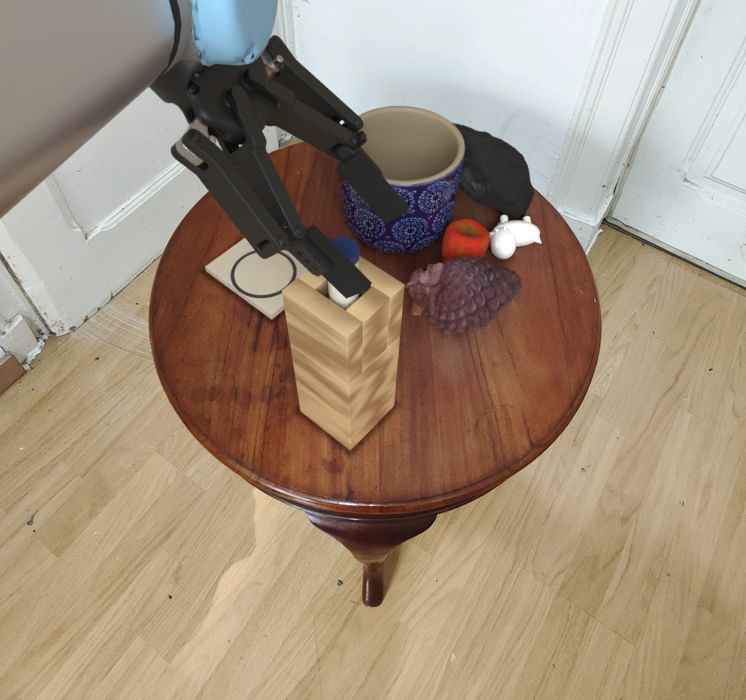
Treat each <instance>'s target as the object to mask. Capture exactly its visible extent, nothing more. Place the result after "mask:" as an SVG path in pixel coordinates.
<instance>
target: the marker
mask: <svg viewBox="0 0 746 700" xmlns="http://www.w3.org/2000/svg"><path fill="white" fill-rule="evenodd" d="M329 240H330V241H331V242H332V243H333V244H334V245H335V246H336V247H337V248H338V249H339V250H340V251H341V252H342V253H343V254H344V255H345V256H346V257H347V258H348V259H349V260H350V261H351V262H352V263H353V264H354V265H355V266H356V267H357V268H358V269H359V256H360V245H359V243H358V242H357V241H356V240H355V239H353V238H351V237H348V236H337V237H334V238H332V239H329ZM328 290H329V300H331V301H332V302H334V303H335V304H337V305H338V306H340V307H341V308H342V309H344V310H345V311H346V309H348V308H349V307H350V306H351V305H352V304H353V303H354V302H356V301H357V300H358V299H359V294H357V295H354V296H352V297H349V298H347V299H346V298H345V297H344V296H343V295H342V294H341V293H340V292H339V291H338V290H337V289H336V288H335V287H334V286H333V285H332V284H331V283H329V282H328Z"/></svg>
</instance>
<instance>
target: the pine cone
mask: <svg viewBox="0 0 746 700" xmlns="http://www.w3.org/2000/svg"><path fill="white" fill-rule="evenodd" d="M521 283H522V279H521V277H520V276H519V274H517V273H516V272H515V271H514V270H511V269H510V268H508V267H507V266H505V267H502V266H499V265H496V263H492V262H491V261H487V260H483V259H481V258H477V257H476V256H474V257H471V258H470V257H466V256H461V257H460V256H459V257H456V258H450V259H448V260H447V261H446V262H444V263H443V262H436V263H429V264H428V265H427V266H426V270H424V269H423V268H421V267H420V268H417V269H415V270H414V271H413V273H412V275H411V276H410V278H409V281H407V282H406V283H404V285H405V286H404V289H407V288H408V289H407V294H408V295H409V296H410V297H411V300H412V303H411V309H410V314H411V315H412V316H413V317H418V316H421V315H422V316H424V317H426V322H428V323H430V324H432V326H433V327H434V328H435V329H436V330H441V331H442V333H443V334H444V335H446V336H447V335H450V334H452V333H453V332H454V331H455V333H457V334H462V333H463V332H464V331H465V330H467V331H468V332H473V333H474V332H476V331H477V330H478V329H479V327H480V328H487V327H488V326H489V325H490V324H491V321H492V320H494V319H496V317H497V316H498V314H500V313H502V312H503V310H504V309H505V308H507V307H509V306H510V305H511V303H512V301H513V300H514V299H516V297H517V295H519V294H520V293H521V289H522V288H523V285H522V284H521Z"/></svg>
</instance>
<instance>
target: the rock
mask: <svg viewBox="0 0 746 700" xmlns="http://www.w3.org/2000/svg"><path fill="white" fill-rule="evenodd" d="M451 123H452V124H454V125H455V126H456V128H457V129H458V130H459V131H460V133H461V134H462V136H463V139H464V142H465V157H464V165H463V172H462V178H461V184H460V189H459V190H462V191H463V192H465V194H466V195H467V196H468V197H469V198H470V199H471V200H473V201H474V202H475V203H478V204H480V205H482V206H484V207H488V208H493V209H494V210H495V211H497V212H499V213H502V214H503V215H507V216H510V217H512V218H513V219H515V220H520V221H522V220H523V218H524V217H525V216H526V214H527V213H528V210H529V209H530V206H531V204H532V202H533V199H534V193H535V189H534V187H533V185H532V180H531V175H530V168H529V165H528V163H527V161H526V159H525V157H524V155H523V154H522V153H521V152H520V151H519V150H518V149H517V148H516V147H514V146H513V145H512V144H510V143H509V142H507V141H505V140H503V139H502V138H499V137H496V136H494V135H492V134H491V133H490V132H487V131H483V130H482V131H481V130H477V129H475V128H473V127H470V126H467V125H465V124H461V123H455V122H451Z"/></svg>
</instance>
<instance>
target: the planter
mask: <svg viewBox="0 0 746 700" xmlns="http://www.w3.org/2000/svg"><path fill="white" fill-rule="evenodd" d="M358 116H359V117H360V118H361V119H362V121H363V124H364V125H363V128H362V129H361V130H362V131H364V133H365V134H366V136H367V142H366V143H365V144H363V145H362V146H361V147H362V149H363V150H364V151H365V152H366V153H367V154H368V156H369V157H370V158H371V159H372V160H373V161H374V162H375V164H376V165H377V166H378V167H379V168H380V170H381V172H382V174H383V175H382V176H383V177H384V178H385V179H386V181H387V182H388V183H389V184H390V185H391V186H392V187H393V189H394V190H395V191H396V192H397V193H398V194H399V195H400V197H401V198H402V199H403V200H404V201H405V202H406V203H407V205H408V206H409V207H410V208H409V210H408V212H407V213H405V214H403V215H401V216H399V217H397V218H395V219H393V220H391V221H389V222H387V223H384V222H383V221H382V220H381V218H380V217H379V216H378V215H377V214H376V213H375V212H374V211H373V210H372V209H371V207H370V206H369V205H368V204H367V203H366V202H365V201H364V200H363V199H362V198H361V197H360V195H359V194H358V193H357V192H356V191H355V190H354V189H353V188H352V187H351V186H350V184H349V183H348V182H347V181H346V180H345V179H344V178H343V177H342V176H341V175H340V173H339V172H338V182H339V183H338V184H339V195H340V203H341V209H342V214H343V218H344V221H345V223H346V225H347V227H348V229H349V230H350V231H351V233H352V234H353V235H354V236H355V238H357V240H359V241H360V242H362V243H363V244H364V245H365V246H367V247H369V248H370V249H373V250H376V251H379V252H382V253H385V254H391V255H406V254H412V253H413V254H414V253H417V252H419V251H422V250H424V249H426V248H428V247H430V246H431V245H433V244H435V243H436V242H437V241H438V240H439V239H440V238H441V237H442V236H444V234H445V230H446V228H447V226H448V225H449V224H450V223H452V220H453V217H454V214H455V210H456V207H457V203H458V199H459V193H460V190H461V189H460V184H461V178H462V172H463V165H464V157H465V142H464V139H463V136H462V134H461V133H460V131H459V130H458V129H457V128H456V126H455V125H454V124H452V123H453V122H451V121H450V120H449V119H448V118H446V117H444V116H442V115H440V114H438V113H437V112H434V111H432V110H429V109H425V108H422V107H416V106H410V105H409V106H408V105H388V106H381V107H377V108H374V109H370V110H368V111H365V112H362V113H361V114H359V115H358ZM361 130H359V132H360V131H361ZM337 161H338V162H337V163H338V164H339V163H340V162H342V161H343V160H342V159H340V160H338V159H337ZM338 164H337V165H338Z"/></svg>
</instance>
